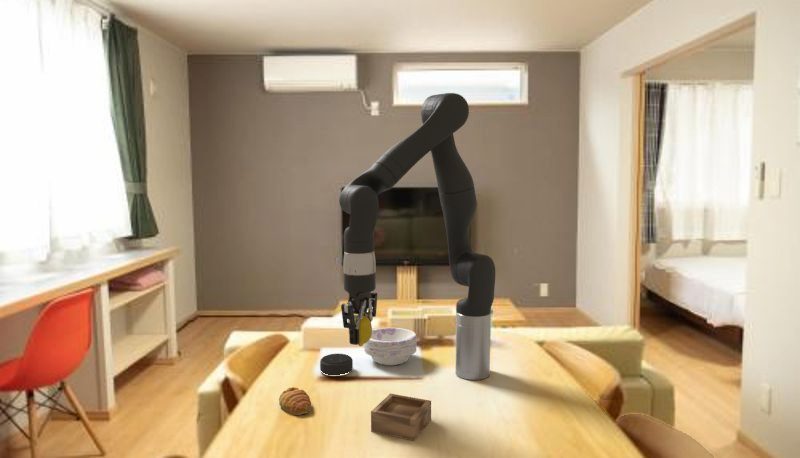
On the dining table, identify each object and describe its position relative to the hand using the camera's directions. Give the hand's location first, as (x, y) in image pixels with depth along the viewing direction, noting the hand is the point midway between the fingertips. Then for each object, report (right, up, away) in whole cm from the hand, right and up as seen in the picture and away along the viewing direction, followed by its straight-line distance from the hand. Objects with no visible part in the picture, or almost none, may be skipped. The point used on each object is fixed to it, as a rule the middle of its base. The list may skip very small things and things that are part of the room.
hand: (360, 339), depth 131 cm
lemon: (0, -2, 0) cm, 2 cm away
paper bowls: (+7, -12, +30) cm, 33 cm away
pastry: (-15, -16, -1) cm, 22 cm away
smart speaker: (-8, -13, +21) cm, 26 cm away
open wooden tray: (+10, -17, -11) cm, 22 cm away
